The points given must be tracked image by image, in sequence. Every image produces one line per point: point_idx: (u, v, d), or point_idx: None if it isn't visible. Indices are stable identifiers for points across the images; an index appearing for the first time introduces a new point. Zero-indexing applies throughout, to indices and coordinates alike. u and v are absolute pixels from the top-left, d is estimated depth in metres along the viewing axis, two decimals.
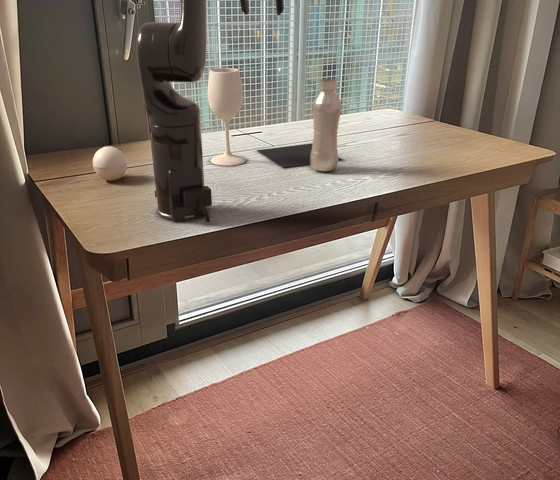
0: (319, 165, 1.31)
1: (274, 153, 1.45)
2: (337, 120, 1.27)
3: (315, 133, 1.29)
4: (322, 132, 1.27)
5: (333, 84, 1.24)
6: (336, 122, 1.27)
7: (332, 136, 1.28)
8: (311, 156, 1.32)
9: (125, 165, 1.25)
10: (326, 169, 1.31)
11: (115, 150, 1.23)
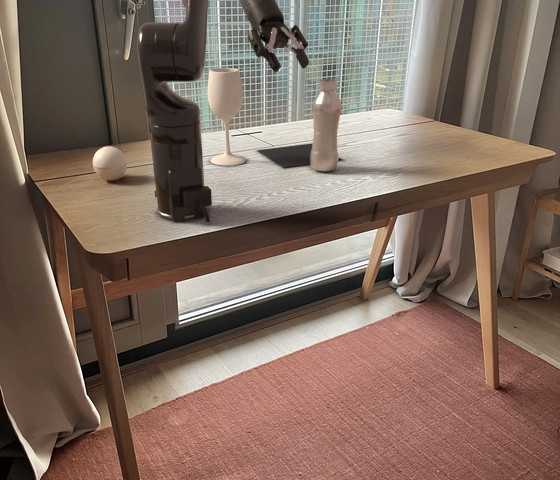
0: (319, 165, 1.31)
1: (274, 153, 1.45)
2: (337, 120, 1.27)
3: (315, 133, 1.29)
4: (322, 132, 1.27)
5: (333, 84, 1.24)
6: (336, 122, 1.27)
7: (332, 136, 1.28)
8: (311, 156, 1.32)
9: (125, 165, 1.25)
10: (326, 169, 1.31)
11: (115, 150, 1.23)
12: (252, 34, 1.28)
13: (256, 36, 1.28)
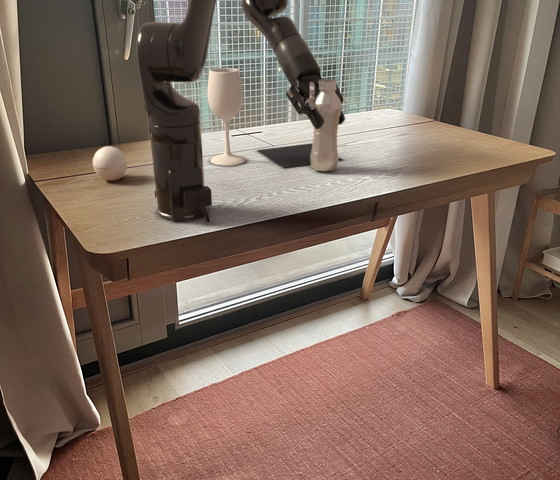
0: (319, 165, 1.31)
1: (274, 153, 1.45)
2: (337, 120, 1.27)
3: (315, 133, 1.29)
4: (322, 132, 1.27)
5: (333, 84, 1.23)
6: (336, 122, 1.27)
7: (332, 136, 1.28)
8: (311, 156, 1.32)
9: (125, 165, 1.25)
10: (326, 169, 1.31)
11: (115, 150, 1.23)
12: (291, 92, 1.24)
13: (296, 94, 1.24)
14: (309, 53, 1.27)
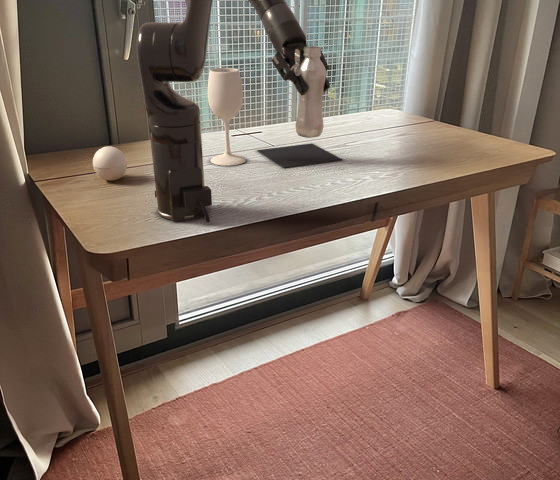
0: (304, 131, 1.34)
1: (274, 153, 1.45)
2: (322, 87, 1.30)
3: (300, 100, 1.32)
4: (307, 98, 1.30)
5: (318, 51, 1.26)
6: (321, 89, 1.30)
7: (317, 103, 1.31)
8: (297, 123, 1.35)
9: (125, 165, 1.25)
10: (311, 135, 1.34)
11: (115, 150, 1.23)
12: (277, 58, 1.27)
13: (281, 60, 1.27)
14: (295, 21, 1.30)
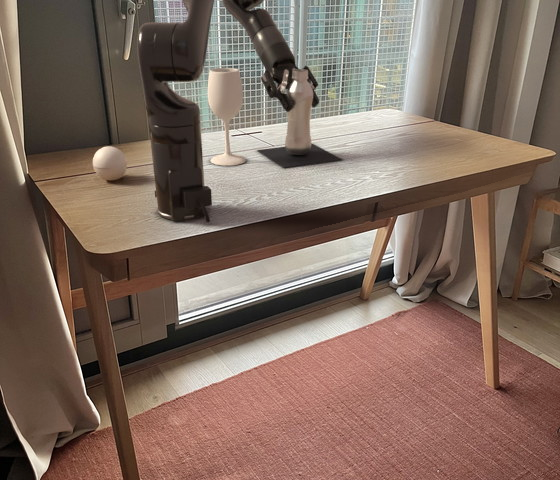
0: (293, 149, 1.41)
1: (274, 153, 1.45)
2: (309, 107, 1.37)
3: (289, 119, 1.39)
4: (295, 118, 1.38)
5: (305, 74, 1.34)
6: (308, 109, 1.37)
7: (305, 123, 1.38)
8: (286, 141, 1.42)
9: (125, 165, 1.25)
10: (300, 153, 1.41)
11: (115, 150, 1.23)
12: (265, 76, 1.34)
13: (269, 78, 1.34)
14: (284, 43, 1.37)
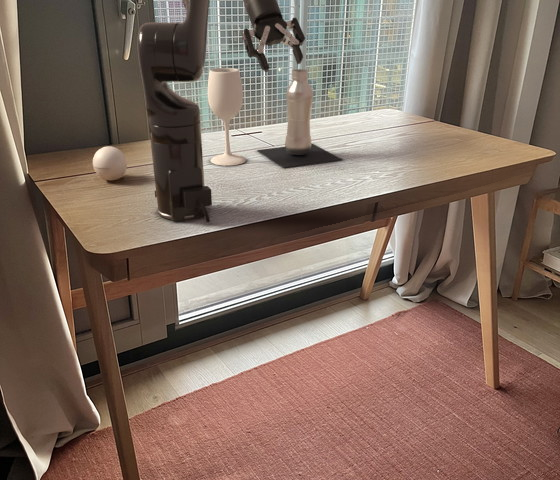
0: (293, 149, 1.41)
1: (274, 153, 1.45)
2: (309, 107, 1.37)
3: (289, 119, 1.39)
4: (295, 118, 1.38)
5: (305, 74, 1.34)
6: (308, 109, 1.37)
7: (305, 122, 1.38)
8: (286, 141, 1.42)
9: (125, 165, 1.25)
10: (300, 153, 1.41)
11: (115, 150, 1.23)
12: (244, 35, 1.34)
13: (247, 37, 1.33)
14: None
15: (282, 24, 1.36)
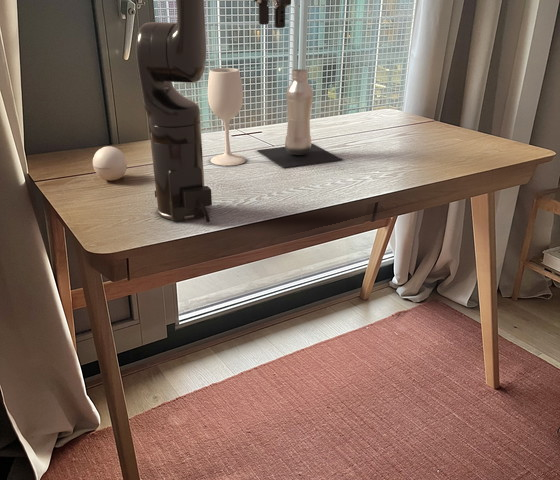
0: (293, 149, 1.41)
1: (274, 153, 1.45)
2: (309, 107, 1.37)
3: (289, 119, 1.39)
4: (295, 118, 1.38)
5: (305, 74, 1.34)
6: (308, 109, 1.37)
7: (305, 123, 1.38)
8: (286, 141, 1.42)
9: (125, 165, 1.25)
10: (300, 153, 1.41)
11: (115, 150, 1.23)
12: None
13: None
14: None
15: None
